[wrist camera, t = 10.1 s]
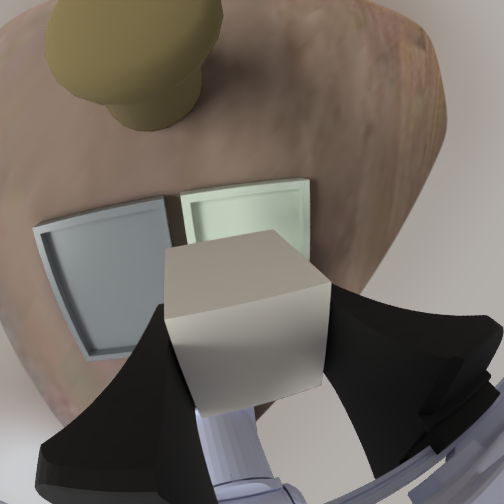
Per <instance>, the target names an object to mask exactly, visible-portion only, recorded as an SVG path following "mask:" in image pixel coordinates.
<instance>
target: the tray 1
mask: <svg viewBox="0 0 504 504" xmlns="http://www.w3.org/2000/svg"><path fill="white" fill-rule="evenodd" d="M32 229H33V233H34V236H35V240H36V243H37V246H38V250H39V253H40V256H41V259H42V262H43V265H44V268H45V271H46V274H47V276H48V279H49V282H50V284H51V287H52V290H53V292H54V295H55V297H56V300H57V302H58V304H59V307H60V309H61V311H62V313H63V316H64V318H65V320H66V322H67V324H68V327H69V329H70V331H71V333H72V335H73V337H74V339H75V341H76V343H77V345H78V347H79V348H80V350H81V352H82V354H83V356H84V358H85V359H86V361H97V360H107V359H116V358H125V357H129V356H130V355H131V353H132V352H133V350H134V348H135V347H136V345H137V343H138V342H139V340H140V338H141V336H142V334H143V333H144V331H145V329H146V327H147V325H148V323H149V321H150V319H151V317H152V315H153V313H154V311H155V309H156V307H157V306H158V304H163V303H164V275H165V249H167V248H172V247H173V245H172V240H171V234H170V228H169V223H168V217H167V211H166V204H165V198H164V195H160V196H155V197H149V198H144V199H139V200H134V201H129V202H124V203H119V204H114V205H109V206H105V207H100V208H96V209H91V210H87V211H83V212H79V213H75V214H70V215H66V216H63V217H59V218H55V219H51V220H47V221H44V222H40V223H38V224H37V225H36V226H34V227H33V228H32Z"/></svg>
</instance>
